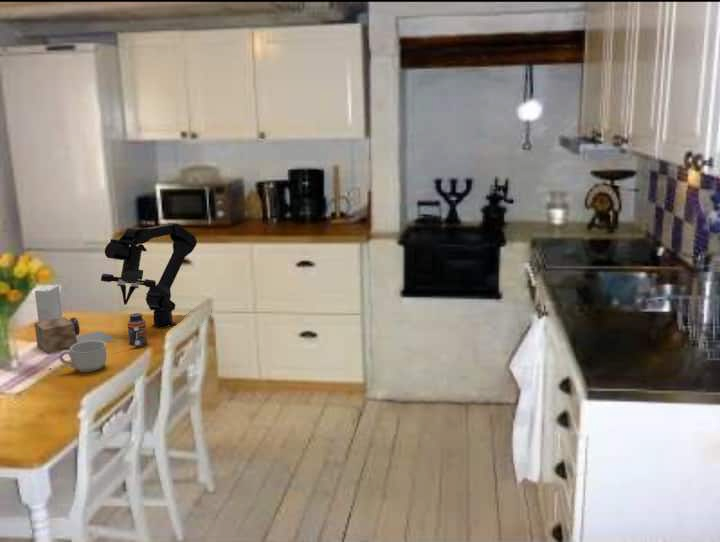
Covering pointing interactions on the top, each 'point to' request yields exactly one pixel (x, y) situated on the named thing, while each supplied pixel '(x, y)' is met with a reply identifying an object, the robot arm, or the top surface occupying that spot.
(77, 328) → the plunger
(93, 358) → the teacup
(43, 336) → the press housing
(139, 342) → the supplement bottle
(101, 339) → the slate board
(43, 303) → the skincare box
